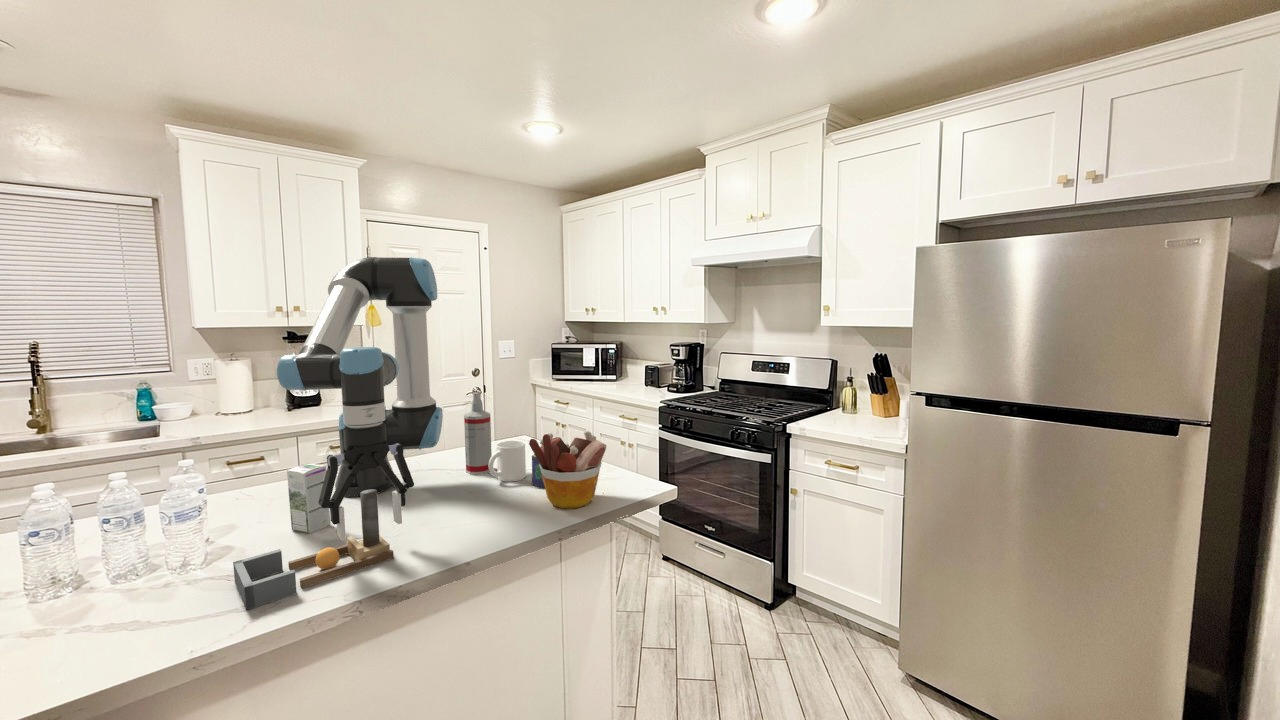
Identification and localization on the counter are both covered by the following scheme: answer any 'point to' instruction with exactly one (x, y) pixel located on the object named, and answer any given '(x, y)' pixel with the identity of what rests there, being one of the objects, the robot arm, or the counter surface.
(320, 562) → the ball
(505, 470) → the mug
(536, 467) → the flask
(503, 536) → the counter surface
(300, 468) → the syrup box
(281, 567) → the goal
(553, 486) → the bucket of meat
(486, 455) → the spray bottle
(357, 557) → the carriage
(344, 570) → the rails
